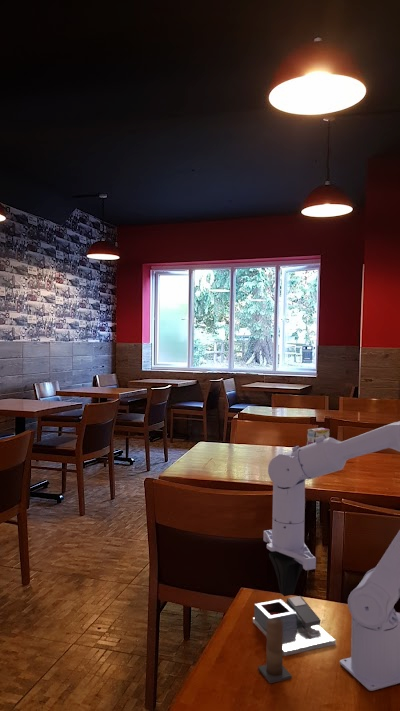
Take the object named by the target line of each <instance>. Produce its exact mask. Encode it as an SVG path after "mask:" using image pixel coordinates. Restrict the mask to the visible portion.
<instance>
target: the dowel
mask: <svg viewBox="0 0 400 711" xmlns="http://www.w3.org/2000/svg"><path fill="white" fill-rule="evenodd" d="M283 656H284V655H283V622H282V621H281V620H279V619H275V618H272V619H269V620H267V637H266V657H265V658H266V664H265V665H266V671H267V673H268V674H269V675H272V676H279V675H281V674H282V666H284V665H283Z"/></svg>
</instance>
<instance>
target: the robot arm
mask: <svg viewBox="0 0 400 711" xmlns="http://www.w3.org/2000/svg"><path fill="white" fill-rule="evenodd" d="M315 441H316V442H315V443H312V444H309V445H307V444H306V445H305V446H302V447H300V446H299V445H296V446H293V447H291V450H290V451H287V452H284V453H280V454H277V455H276V456H275V457H273V458H272V459H271V460H270V462H269V464H268V467H267V474H268V476H269V479H270V481H271V482H272V483H273V484H272V516H271V517H272V519H271V520H272V524H271V525H272V526H271V528H272V529H267V530H263V542H265V543H267V544H266V549H267V550H269V551H270V552H269V553H268V558H269V560H270V561H271V564H272V566H273V568H274V572H275V574H276V580H277V583H278V589H279V592H280V595H281V596H283V597H287V596H294V594H295V591H296V588H297V584H298V581H299V578H300V575H301V572H302V571H303V570H305V571H310V570H316V566H317V557H316V556H314V555H313V554H312V553H311V551H310V549H309V548H308V545H306V543H305V520H306V519H305V517H306V516H305V514H306V512H305V509H306V498H305V497H306V480H313V479H316V478H319V477H322V476H325V475H328V474H329V475H330V474H331V473H335V472H339V471H341V470H343V469H344V468H345V465H346V463H347V461H348V460H351V459H354V458H358V457H360V456H364V455H365V456H366V455H368V454H372V453H376V452H379V451H382V450H386V449H392V450H395V451H397V452H400V420H399V421H394V422H392V423H389V424H386V425H383V426H381V427H378V428H375V429H372V430H370V431H367V432H365V433H362V434H359V435H357V436H354V437H351V438H348V439H346V440H343V441H341V440H338V439H336V438H334V437H330V436H329V438H326V439H325V437H324V436H322V437H319V438H316V439H315ZM399 599H400V529H399V530H398V532H397V534H396V535H395V536H394V538H393V539H392V541H391V543H390V544H389V545H388V548H387V549H386V550H385V552H384V554H383V555H382V557H381V559H379V561H378V563H377V565H376V566H375V567H373V568H371V569H370V570H368V571H366V572H365V574H364V576H363V577H362V579H361V581H359V584H358V585H357V586H356V587H355V588H354V589H353V590H351V591H350V594H349V595H348V598H347V607H348V610H349V613H350V615H351V636H350V637H351V643H350V644H351V645H350V657H346V658H343V659H342V658H341V659H340V660H339V664H340V665H341V666H342V667H343V668H344V669H345V670H346V671H347V672H349V673H350V674H351V675H352V676H353V678H355V679H356V680H357V681H358V682H359V683H360V684H361V685H363V686H364V687H365V688H366V690H368V691H371V692H372V691H376V690H380V689H384V688H388V687H391V686H394V685H397V684H400V612H397V611H396V609H395V608H394V606H395V604H397V602H398V601H399Z"/></svg>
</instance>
